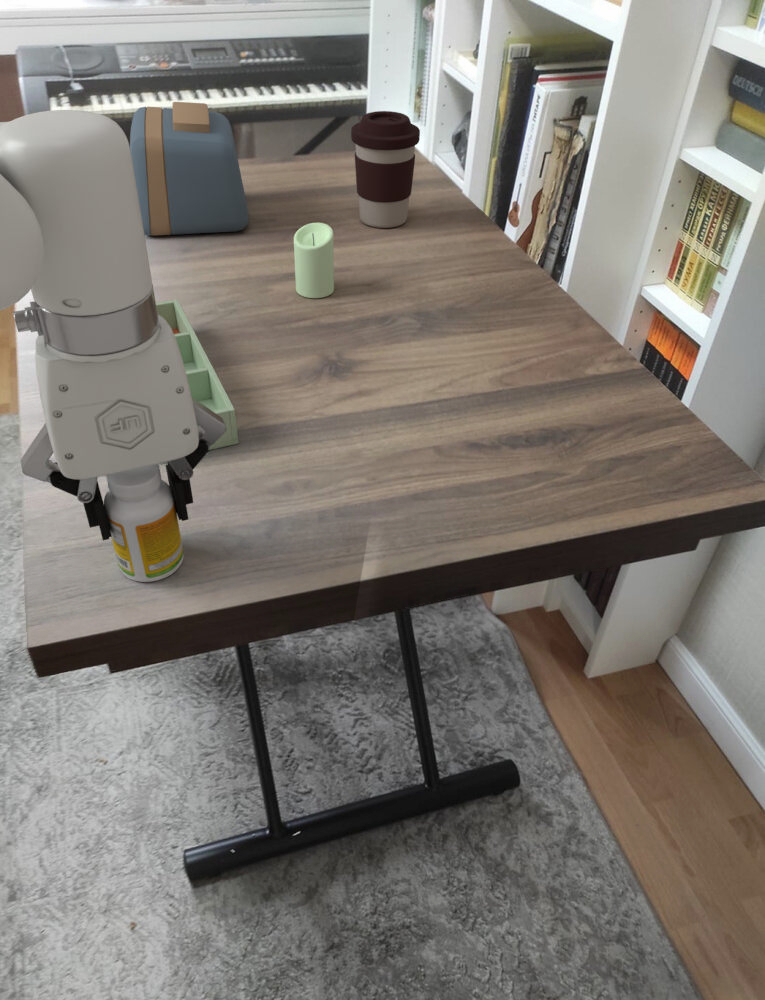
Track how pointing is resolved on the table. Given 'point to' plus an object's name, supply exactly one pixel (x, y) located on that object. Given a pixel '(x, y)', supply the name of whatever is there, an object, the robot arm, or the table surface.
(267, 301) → the table surface
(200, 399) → the tray
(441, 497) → the table surface
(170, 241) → the table surface
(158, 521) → the supplement bottle
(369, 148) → the coffee cup
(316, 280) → the candle
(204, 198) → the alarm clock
